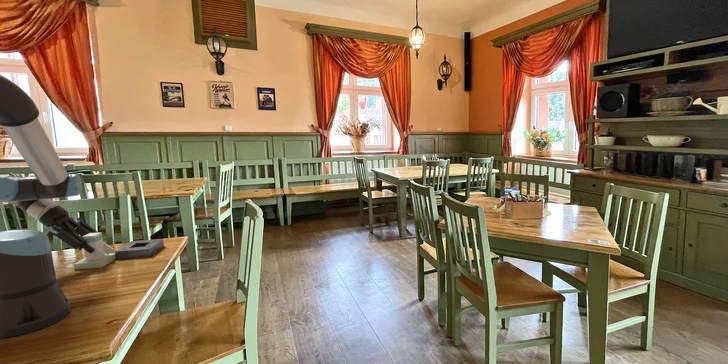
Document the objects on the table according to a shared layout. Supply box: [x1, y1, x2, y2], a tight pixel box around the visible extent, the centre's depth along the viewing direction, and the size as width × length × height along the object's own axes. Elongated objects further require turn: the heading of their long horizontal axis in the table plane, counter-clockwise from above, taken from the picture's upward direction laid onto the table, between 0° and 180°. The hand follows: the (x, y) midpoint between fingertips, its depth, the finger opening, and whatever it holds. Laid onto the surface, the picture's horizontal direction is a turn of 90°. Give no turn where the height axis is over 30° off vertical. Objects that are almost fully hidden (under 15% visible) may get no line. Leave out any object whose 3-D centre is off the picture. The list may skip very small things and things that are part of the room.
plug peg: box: [81, 232, 105, 261], centre depth 124 cm, size 4×4×11 cm
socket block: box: [114, 238, 165, 260], centre depth 135 cm, size 12×12×3 cm
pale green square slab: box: [73, 252, 117, 270], centre depth 125 cm, size 9×9×2 cm
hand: (106, 254), depth 125 cm, fingers closed on pale green square slab, 4 cm apart
